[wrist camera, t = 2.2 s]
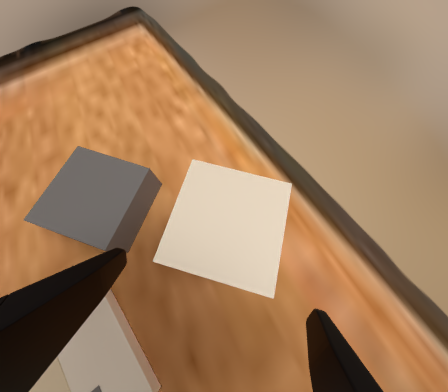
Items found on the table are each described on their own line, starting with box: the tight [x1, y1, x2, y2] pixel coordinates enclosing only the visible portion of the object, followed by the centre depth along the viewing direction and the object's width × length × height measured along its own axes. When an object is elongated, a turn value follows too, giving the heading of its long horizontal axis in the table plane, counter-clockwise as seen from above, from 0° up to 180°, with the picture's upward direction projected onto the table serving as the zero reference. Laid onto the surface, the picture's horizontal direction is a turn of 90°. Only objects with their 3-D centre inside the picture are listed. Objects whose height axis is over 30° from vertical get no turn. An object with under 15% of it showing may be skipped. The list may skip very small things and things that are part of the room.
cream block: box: [153, 159, 292, 299], centre depth 12 cm, size 4×4×12 cm
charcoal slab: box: [24, 146, 162, 253], centre depth 18 cm, size 8×8×4 cm
